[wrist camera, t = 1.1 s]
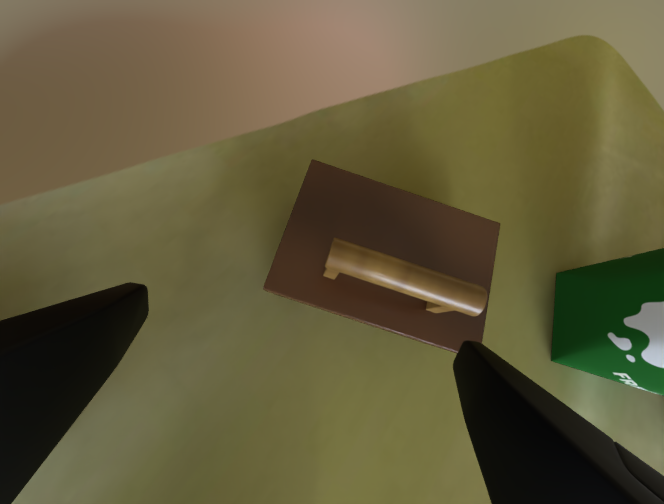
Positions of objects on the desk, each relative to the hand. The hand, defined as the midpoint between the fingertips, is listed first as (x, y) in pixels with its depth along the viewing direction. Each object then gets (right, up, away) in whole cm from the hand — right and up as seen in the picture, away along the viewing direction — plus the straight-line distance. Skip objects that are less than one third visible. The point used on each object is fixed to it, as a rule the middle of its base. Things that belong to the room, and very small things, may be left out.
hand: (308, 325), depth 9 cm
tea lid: (+4, +2, +10) cm, 11 cm away
